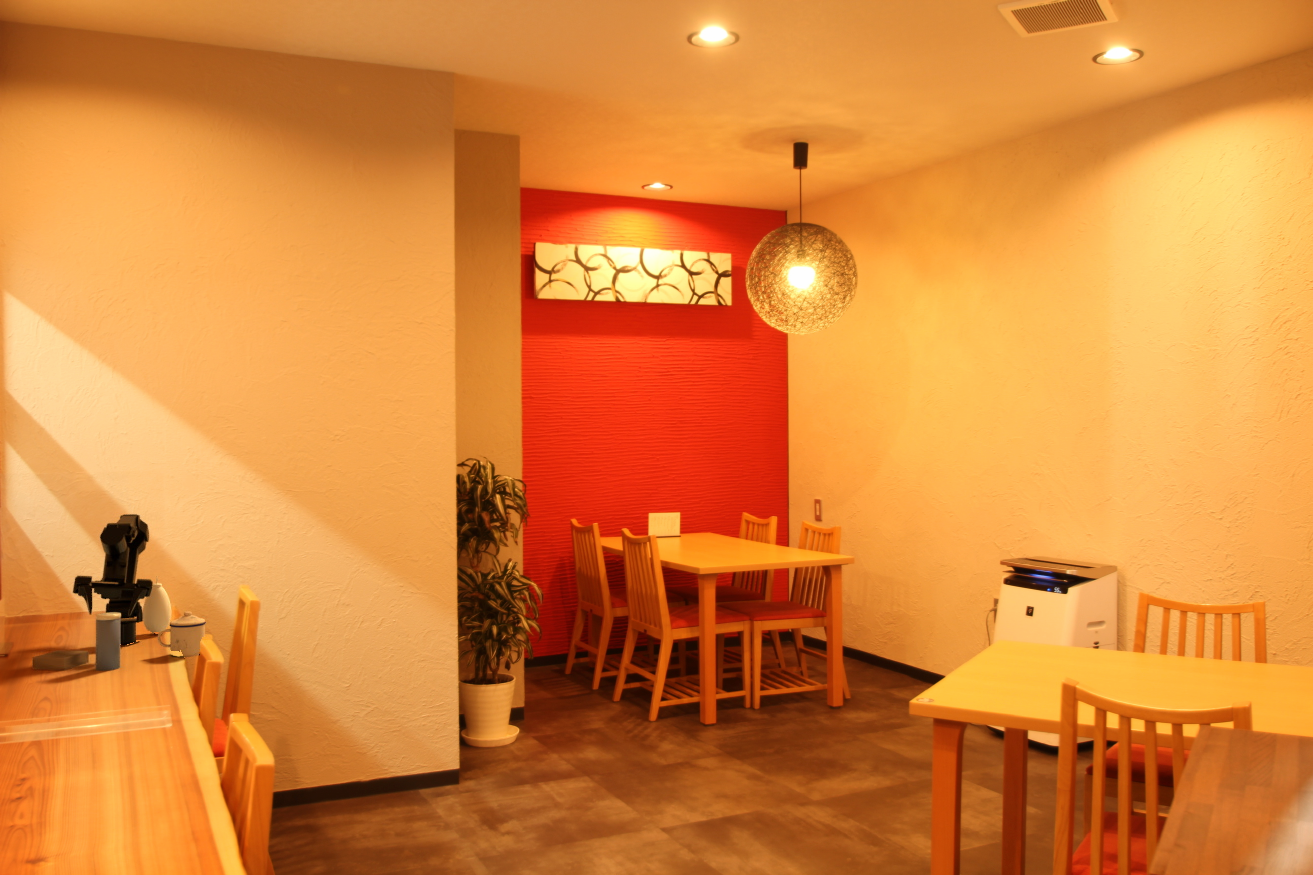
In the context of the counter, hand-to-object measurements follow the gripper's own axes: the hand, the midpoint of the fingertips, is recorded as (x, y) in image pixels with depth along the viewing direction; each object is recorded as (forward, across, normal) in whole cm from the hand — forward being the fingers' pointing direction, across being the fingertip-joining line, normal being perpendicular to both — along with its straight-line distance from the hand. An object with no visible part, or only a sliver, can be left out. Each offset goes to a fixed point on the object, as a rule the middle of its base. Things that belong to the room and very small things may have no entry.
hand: (110, 614), depth 265 cm
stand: (+12, +10, -7) cm, 17 cm away
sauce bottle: (-11, -15, -34) cm, 39 cm away
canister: (+16, -1, +1) cm, 16 cm away
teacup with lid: (+9, -19, -5) cm, 21 cm away
